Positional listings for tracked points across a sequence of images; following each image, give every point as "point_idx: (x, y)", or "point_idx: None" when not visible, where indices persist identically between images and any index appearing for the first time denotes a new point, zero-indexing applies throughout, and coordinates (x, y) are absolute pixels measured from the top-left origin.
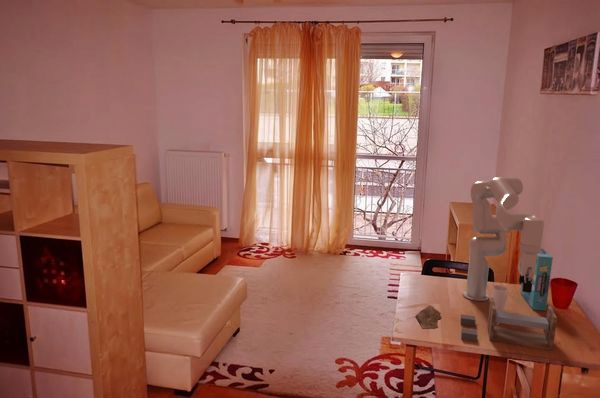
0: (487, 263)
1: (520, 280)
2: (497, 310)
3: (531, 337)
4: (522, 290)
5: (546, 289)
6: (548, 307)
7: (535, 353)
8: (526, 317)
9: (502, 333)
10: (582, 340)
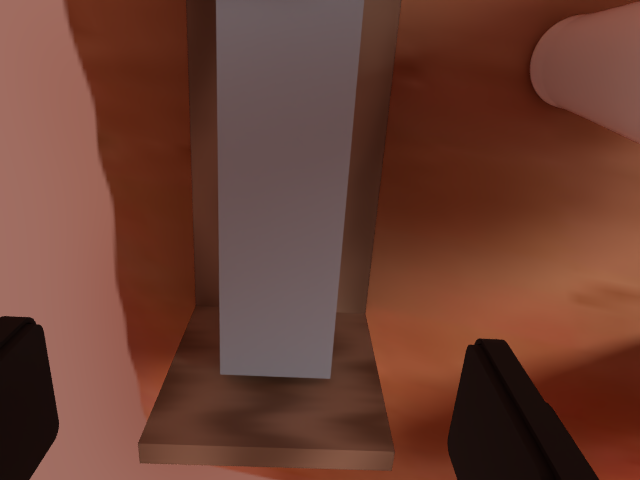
0: None
1: (480, 381)
2: (565, 54)
3: None
4: (3, 321)
5: None
6: (362, 446)
7: (125, 218)
8: (291, 245)
9: None
10: None
